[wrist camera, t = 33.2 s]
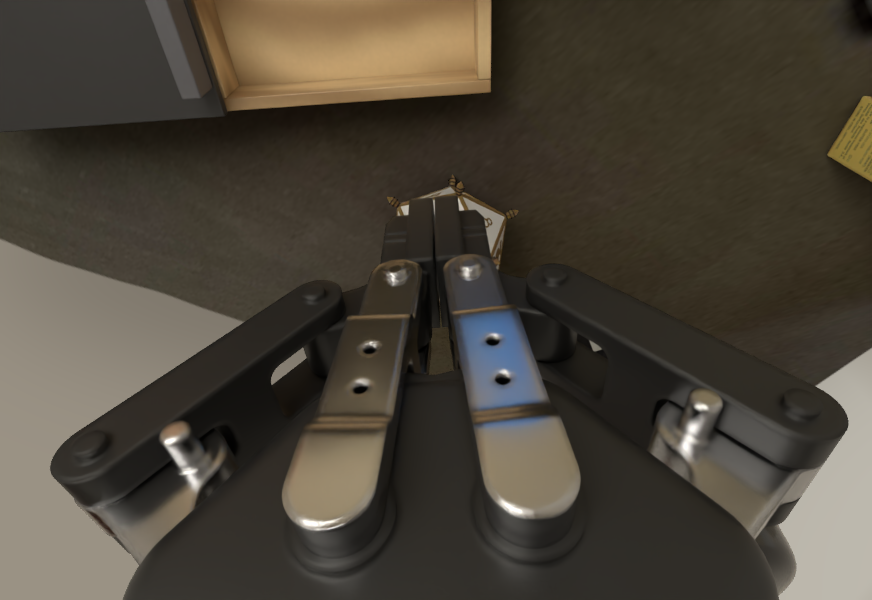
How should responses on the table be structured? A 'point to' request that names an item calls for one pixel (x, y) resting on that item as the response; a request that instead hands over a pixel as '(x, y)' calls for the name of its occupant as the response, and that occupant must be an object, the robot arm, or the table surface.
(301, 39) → the case
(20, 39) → the lid
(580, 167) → the table surface
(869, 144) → the candy box
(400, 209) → the game die
